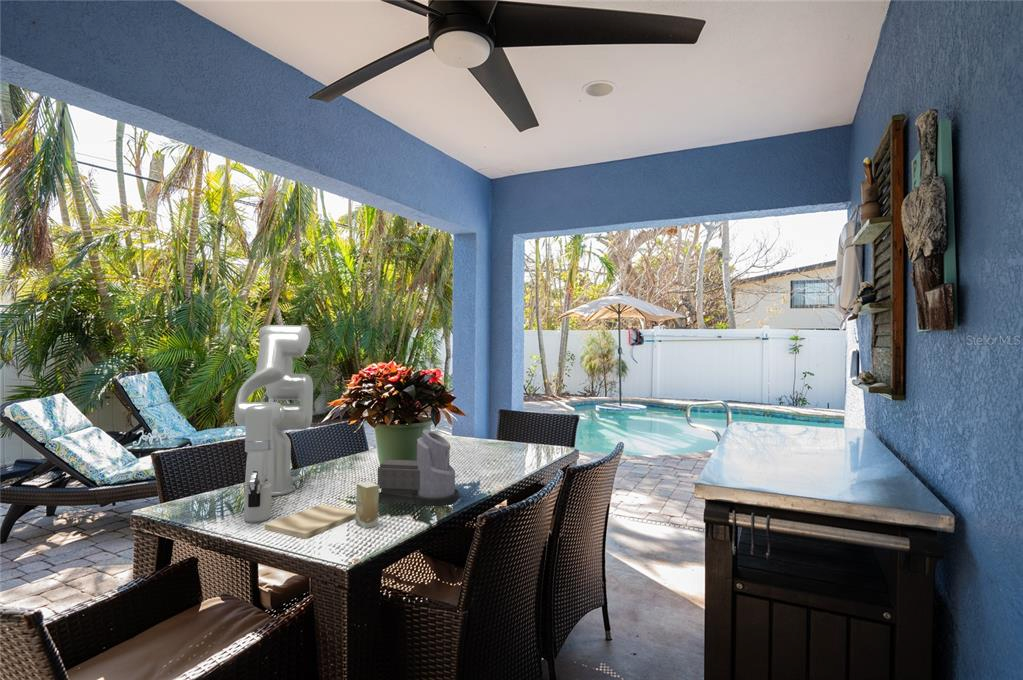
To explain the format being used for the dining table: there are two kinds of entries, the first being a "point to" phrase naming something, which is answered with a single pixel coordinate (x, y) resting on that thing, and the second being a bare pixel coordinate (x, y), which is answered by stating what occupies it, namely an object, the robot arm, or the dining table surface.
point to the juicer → (420, 475)
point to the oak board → (311, 521)
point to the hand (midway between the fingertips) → (257, 502)
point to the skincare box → (367, 504)
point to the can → (265, 504)
